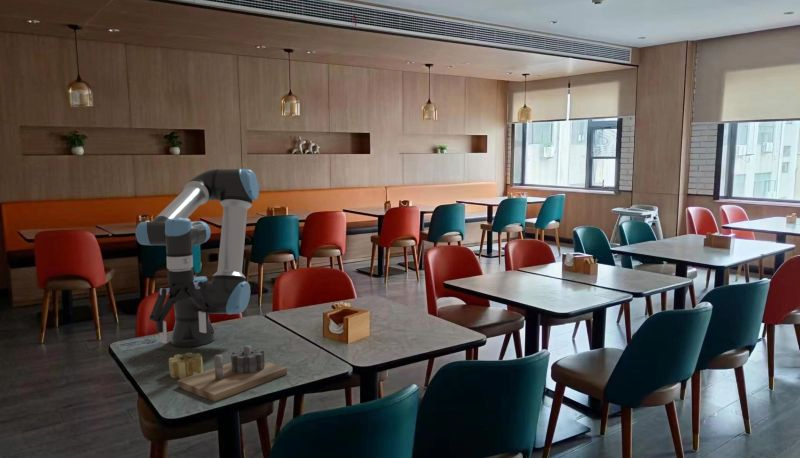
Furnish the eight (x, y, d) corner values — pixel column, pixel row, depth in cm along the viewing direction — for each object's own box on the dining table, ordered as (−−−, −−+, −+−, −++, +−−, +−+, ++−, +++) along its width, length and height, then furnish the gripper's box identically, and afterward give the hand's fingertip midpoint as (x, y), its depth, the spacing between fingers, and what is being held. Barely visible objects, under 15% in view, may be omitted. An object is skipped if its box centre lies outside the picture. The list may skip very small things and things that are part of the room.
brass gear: (163, 374, 186) (162, 358, 186) (191, 365, 194) (190, 350, 193) (181, 381, 181) (180, 365, 180) (208, 371, 188) (208, 356, 187)
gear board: (177, 386, 176) (176, 357, 175) (249, 362, 196) (248, 335, 195) (215, 401, 165) (213, 370, 164) (286, 373, 186) (285, 345, 184)
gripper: (148, 276, 171) (152, 349, 173) (222, 264, 191) (225, 330, 193) (134, 274, 176) (138, 344, 178) (208, 262, 195) (211, 326, 197)
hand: (183, 337), depth 185 cm, fingers open, 13 cm apart
